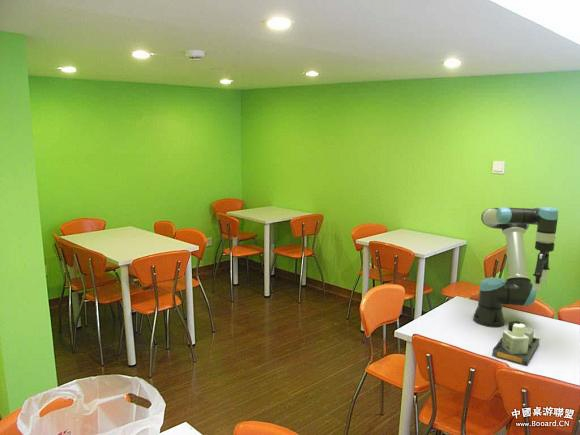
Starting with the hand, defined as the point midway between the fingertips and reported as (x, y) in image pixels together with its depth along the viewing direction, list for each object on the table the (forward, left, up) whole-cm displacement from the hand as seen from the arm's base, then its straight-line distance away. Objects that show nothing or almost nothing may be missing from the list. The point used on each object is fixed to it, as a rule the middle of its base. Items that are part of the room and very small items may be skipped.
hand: (539, 286), depth 206 cm
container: (-5, -16, -27) cm, 32 cm away
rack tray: (-5, -11, -29) cm, 31 cm away
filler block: (-5, -3, -27) cm, 28 cm away
